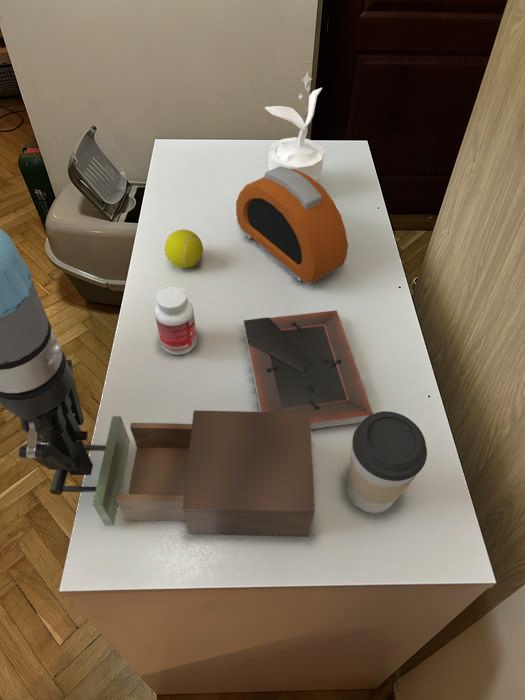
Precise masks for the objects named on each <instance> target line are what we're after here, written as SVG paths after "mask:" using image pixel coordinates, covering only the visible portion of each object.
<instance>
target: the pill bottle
mask: <svg viewBox="0 0 525 700" xmlns="http://www.w3.org/2000/svg"><path fill="white" fill-rule="evenodd" d="M155 298H156V305H155V307H154V317H155V318H154V319H155V322H156V327H157V332H158V336H159V341H160V345H161V348H162V349H163V350H164V351H165V352H166V353H168V354H171V355H177V356H179V355H185V354H187V353H189V352H191V351H192V350H193V349H194V348H195V347H196V345H197V342H198V339H197V338H198V337H197V328H196V320H195V313H194V312H195V311H194V307H193V304H192V302H191V301H190V300H189V298H188V295H187V293H186V291H185V290H184V289H183V288H181V287H179V286H167V287H164V288H162V289H161V290H159V291H158V293H157V294H156V297H155Z"/></svg>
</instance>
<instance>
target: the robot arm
mask: <svg viewBox="0 0 525 700" xmlns="http://www.w3.org/2000/svg"><path fill="white" fill-rule="evenodd" d="M33 281H34V280H33V278H32V274H31V270H30V268H29V266H28V265H27V263H26V261H25V259H22V256H21V254H20V252H19V251H18V249H17V247H16V245H15V243H14V241H13V239H12V238H11V236H10V235H9V234H8V233H7V232H6V231H4V230H3V229H2V228H0V405H2V407H3V408H4V409H5V410H6V411H8V412H10V413H11V414H13V415H15V416H16V417H17V418H19V420H20V425H21V426H20V427H21V429H22V431H23V432H25V433H27V439H26V440H25V442H24V445H21V446H20V447H19V449H18V457H19V458H20V459H32V460H34V461H35V462H36V463H38V464H39V465H41V466H43V467H44V468H47V469H48V470H49V471H56V470H68V474H70V476H91V475H92V473H93V468H94V464H93V461H92V460H91V458H90V455H89V454H88V452H87V450H85V448H84V445H85V443H84V442H83V441H87V440H88V437H89V433H88V431H85V430H84V431H83V430H82V429H81V428H80V426H83V425H84V422H85V417H84V413H83V409H82V405H81V402H80V397H79V394H78V390H77V386H76V381H75V378H74V370H73V369H74V368H73V361H72V359H67V358H66V356H65V354H64V352H63V346H62V344H60V343H59V341H58V338H57V337H56V334H55V332H54V330H53V328H52V324H51V322H50V321H49V317H48V315H47V312H46V310H45V308H44V305H43V302H42V300H41V298H40V296H39V293H38V291H37V289H36V285H35V284H34V282H33Z"/></svg>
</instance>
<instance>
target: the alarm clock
mask: <svg viewBox="0 0 525 700" xmlns="http://www.w3.org/2000/svg"><path fill="white" fill-rule="evenodd" d="M235 214H236V220H237V224H238V225H239V227H240V229H241V230H242V231H243V232H245V234H247V239H249V240H252V239H253V240H254V241H255V242H256V243H258V245H260V246H261V247H262V248H263V249H265V250H266V251H267V252H268V253H269V254H270V255H272V256H273V257H274V258H275V259H277V260H278V261H279V262H280V263H281V264H283V266H284V267H286V268H287V269H288V270H289V271H291V272H292V273H293V274H295V276H296V279H297V281H299V282H302V281H303V282H304V283H305V284H312V283H315V282H316V281H318V280H320V279H321V278H323V277H325V276H327V275H328V274H330V273H332V272H334V271H336V270H337V269H339V268H341V267H342V266H344V264H345V262H346V259H347V257H348V251H349V243H348V237H347V231H346V227H345V224H344V220H343V217H342V215H341V213H340V211H339V209H338V207H337V205H336V203H335V201H334V200H333V199H332V197H331V196H330V195H329V193H328V191H327V189H325V188H324V187H323V186H322V185H320V184H319V183H318V182H317V181H316V180H313V179H312V178H311V177H309V176H308V175H306V174H304V173H302V172H300V171H298V170H296V169H288V168H285V167H281V166H279V167H277V168H275V169H273V170H270V171H269V170H268V171H266V172H264V176H263V177H261V178H258V179H257V180H254V181H251V182H250V183H247V184H245V186H244V187H243V189H241V190H240V192H239V194H238V196H237V199H236V202H235Z"/></svg>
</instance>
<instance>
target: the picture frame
mask: <svg viewBox="0 0 525 700" xmlns="http://www.w3.org/2000/svg"><path fill="white" fill-rule="evenodd" d="M243 330H244V331H243V332H244V336H245V341H246V347H247V353H248V356H249V357H248V358H249V361H250V367H251V373H252V377H253V382H254V383H253V384H254V389H255V393H256V399H257V404H258V408H259V412H293V413H310V423H311V430H316V429H324V428H330V427H331V428H332V427H337V426H345V425H353V424H360V423H361V422H362V421H363V420H364V419H365V418H366V417H368V416H370V415H371V414H374V413H373V411H372V408H371V405H370V402H369V400H368V397H367V393H366V391H365V388H364V385H363V382H362V378H361V377H360V373H359V371H358V368H357V365H356V362H355V359H354V356H353V353H352V350H351V347H350V344H349V341H348V340H347V339H348V338H347V336H346V333H345V330H344V328H343V324H342V322H341V319H340V316H339V313H338V311H337V310H336V309H335V310H327V311H318V312H310V313H309V312H308V313H299V314H294V315H293V314H292V315H284V316H275V317H261V318H251V319H243Z"/></svg>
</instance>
